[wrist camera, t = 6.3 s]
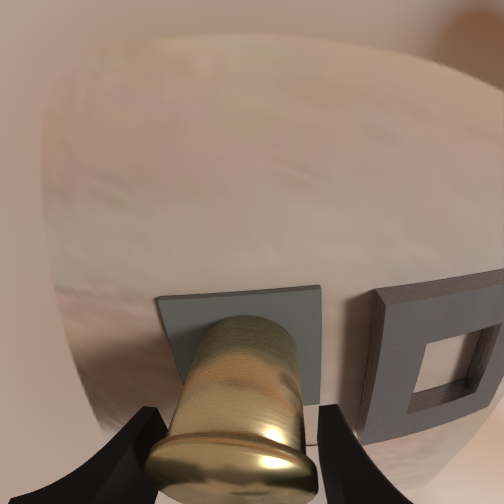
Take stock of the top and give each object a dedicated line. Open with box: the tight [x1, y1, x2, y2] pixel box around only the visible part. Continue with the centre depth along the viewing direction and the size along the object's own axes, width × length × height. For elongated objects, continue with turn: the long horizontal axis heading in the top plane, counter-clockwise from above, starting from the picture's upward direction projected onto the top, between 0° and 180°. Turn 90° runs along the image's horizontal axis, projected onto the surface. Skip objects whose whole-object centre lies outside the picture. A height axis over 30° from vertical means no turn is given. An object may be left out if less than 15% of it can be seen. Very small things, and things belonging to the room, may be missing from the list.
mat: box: [158, 285, 322, 406], centre depth 13 cm, size 7×7×1 cm
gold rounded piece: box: [144, 315, 319, 504], centre depth 10 cm, size 5×5×7 cm
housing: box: [356, 269, 504, 446], centre depth 13 cm, size 10×10×2 cm
